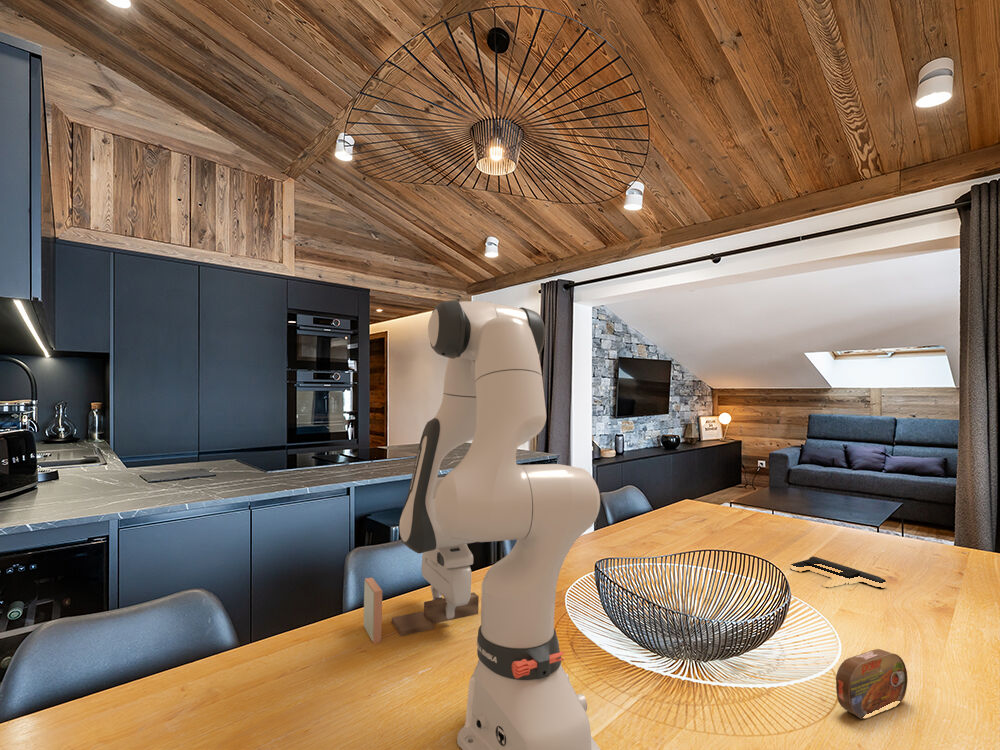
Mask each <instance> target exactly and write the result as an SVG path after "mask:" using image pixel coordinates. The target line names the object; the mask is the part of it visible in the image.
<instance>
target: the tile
mask: <svg viewBox="0 0 1000 750" xmlns="http://www.w3.org/2000/svg"><path fill="white" fill-rule="evenodd" d="M363 588H364V592H363V593H364V594H363V595H364V597H363V628H364V630H365V632H367V635H368V636H369V638H370V640H371V642H373V644H377V643H381V642H382V628H383V627H382V622H383V621H382V617H383V590H382V588H381V587H380V586H379V584H378V583H377V581H376V580H375V579H374V578H373V577H366V578H364V587H363Z"/></svg>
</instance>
